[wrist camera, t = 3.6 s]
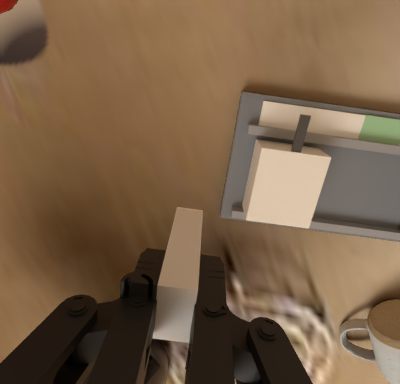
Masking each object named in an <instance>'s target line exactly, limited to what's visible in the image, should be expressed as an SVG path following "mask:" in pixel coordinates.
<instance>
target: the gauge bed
mask: <svg viewBox="0 0 400 384" xmlns="http://www.w3.org/2000/svg"><path fill="white" fill-rule="evenodd" d="M300 114H303V115H310V116H311V118H310V122H309V125H308V129H307V133H306V136H305V140H304V143H303V146H309V147H317V148H319V149H320V150H322V151H323V152H325V153H326V154H327V155H329V156H330V157H331V161H330V164H329V167H328V170H327V173H326V176H325V179H324V183H323V186H322V189H321V192H320V195H319V198H318V201H317V204H316V208H315V211H314V214H313V217H312V220H311V223H310V226H309V229H308V230H315V231H323V232H330V233H338V234H345V235H353V236H360V237H368V238H375V239H383V240H390V241H398V242H400V231H399V230H398V229H397V228H398V226H399V224H400V114H398V113H391V112H384V111H377V110H370V109H363V108H356V107H349V106H342V105H335V104H328V103H321V102H314V101H307V100H300V99H293V98H286V97H279V96H272V95H265V94H258V93H251V92H244V91H241V97H240V102H239V108H238V114H237V119H236V125H235V130H234V136H233V142H232V147H231V153H230V158H229V164H228V170H227V175H226V181H225V186H224V192H223V197H222V203H221V209H220V218H225V219H232V220H240V221H247V220H246V219H245V214H244V210H243V206H242V203H243V199H244V194H245V189H246V184H247V180H248V175H249V170H250V165H251V160H252V156H253V151H254V146H255V141H256V139H259V140H266V141H274V142H281V143H288V144H293V140H294V136H295V133H296V129H297V125H298V121H299V117H300ZM247 222H254V221H247ZM255 223H262V222H255ZM262 224H270V223H262ZM270 225H277V224H270ZM277 226H285V225H277ZM285 227H292V226H285ZM292 228H300V227H292ZM300 229H307V228H300Z"/></svg>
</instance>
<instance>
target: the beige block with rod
mask: <svg viewBox="0 0 400 384" xmlns="http://www.w3.org/2000/svg"><path fill="white" fill-rule="evenodd" d="M310 118H311V116H310V115H303V114H300V117H299V121H298V125H297V129H296V133H295V136H294V140H293V144H288V143H281V142H274V141H266V140H259V139H256V141H255V146H254V151H253V156H252V160H251V165H250V170H249V175H248V180H247V184H246V189H245V194H244V199H243V203H242V206H243V210H244V214H245V219H246V220H247V221H254V222H262V223H270V224H277V225H285V226H292V227H300V228H307V229H309V226H310V223H311V220H312V217H313V214H314V211H315V208H316V204H317V201H318V198H319V195H320V192H321V189H322V186H323V183H324V179H325V176H326V173H327V170H328V167H329V164H330V161H331V157H330V156H329V155H327V154H326V153H325V152H323V151H322V150H320V149H319V148H317V147H309V146H303V143H304V140H305V136H306V133H307V129H308V125H309V122H310Z"/></svg>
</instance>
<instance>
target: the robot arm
mask: <svg viewBox="0 0 400 384" xmlns="http://www.w3.org/2000/svg"><path fill="white" fill-rule="evenodd" d="M202 219H203V210H197V209H190V208H182V207H177V209H176V213H175V217H174V221H173V225H172V229H171V233H170V237H169V241H168V245H167V249H166V251H165V250H157V249H150V248H147V249H146V250H145V251H144V252H143V253H141V255H140V258H139V261H138V263H137V266H136V268H135V271H134V272H132V273H129V274H127V275H126V276H124V277H123V279H122V280H121V292H120V298H119V299H117V300H115V301H112V302H107V303H99V304H97V302H96V301H95V299H94V298H92V297H90V296H88V295H75V296H72V297H70V298H67V299H66V300H65V301H63V302H62V303H61V304H60V305H59V306H58V307H57V308H56V309H55V310H54V311H53V312H52V313H51V314H50V315H49V316H48V317H47V318H46V319H45V320H44V321H43V322H42V323H41V324H40V325H39V326H38V327H37V328H36V329H35V330H34V331H33V332H32V333H31V334H30V335H29V336H28V337H27V338H26V339H25V340H24V341H23V342H21V343H20V344H19V345H18V346H17V347H16V348H15V349H14V350H13V351H12V352H11V353H10V354H9V355H8V356H7V357H6V358H5V359H4V360H3V361H2V362H1V363H0V384H165V383H166V379H167V372H168V357H167V353H166V351H165V349H164V347H163V346H162V345H161V343H160V342H159V341H158V340H157V339H161V340H169V341H177V342H185V343H189V349H188V355H187V361H186V367H185V369H186V376H185V384H235V380H234V378H235V379H236V382H237V384H313V383H312V382H311V380H310V378H309V376H308V374H307V372H306V371H305V369H304V367H303V365H302V363H301V361H300V359H299V358H298V356H297V354H296V352H295V350H294V348H293V346H292V345H291V343H290V341H289V339H288V337H287V335H286V334H285V332H284V330H283V329H282V327H281V326H280V325H279V324H278V323H276V322H275V321H274V320H271V319H269V318H264V317H259V318H255V319H253V320H252V321H251V322H247V321H245V320H243V319H240V318H238V317H237V316H235V315H234V314H233V313H232V312H231V311H230V310H229V308H228V306H227V303H226V291H225V274H224V264H223V262H222V261H221V259H220V257H215V256H207V255H200V251H201V235H202Z"/></svg>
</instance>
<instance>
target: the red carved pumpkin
mask: <svg viewBox="0 0 400 384" xmlns="http://www.w3.org/2000/svg"><path fill="white" fill-rule="evenodd" d="M17 1H18V0H0V14H1V13H3V12H6V11H9V10H11V9H12V8H13V6H14V5H15V4H16V3H17Z"/></svg>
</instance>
